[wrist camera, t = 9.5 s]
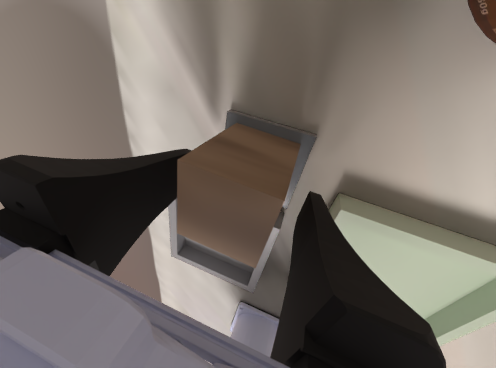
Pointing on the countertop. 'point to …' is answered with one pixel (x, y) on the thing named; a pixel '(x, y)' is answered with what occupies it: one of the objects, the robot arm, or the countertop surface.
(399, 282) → the green tray
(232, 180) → the walnut block
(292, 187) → the slate coaster
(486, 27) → the food container
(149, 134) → the countertop surface
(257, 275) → the grey tray
